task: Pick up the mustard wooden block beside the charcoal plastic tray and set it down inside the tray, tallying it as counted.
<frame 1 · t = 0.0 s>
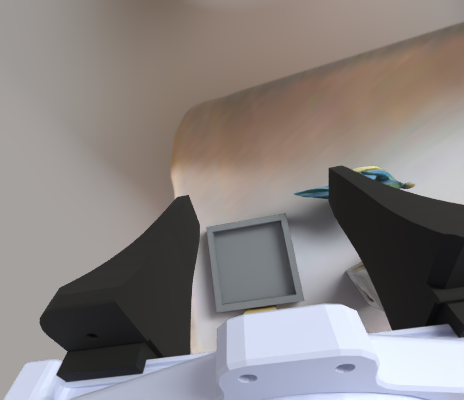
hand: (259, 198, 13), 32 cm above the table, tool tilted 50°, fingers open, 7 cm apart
mustard block: (263, 322, 41), on the table
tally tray: (253, 261, 43), on the table
blue bird figurine: (339, 201, 44), on the table
coffee box: (379, 273, 40), on the table
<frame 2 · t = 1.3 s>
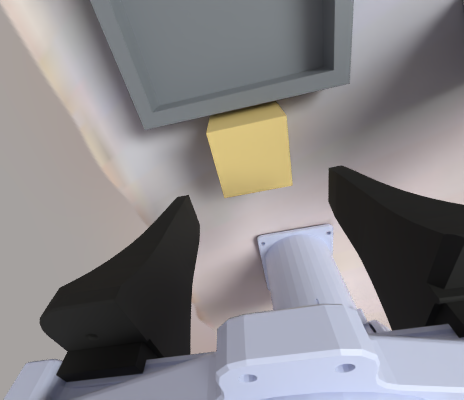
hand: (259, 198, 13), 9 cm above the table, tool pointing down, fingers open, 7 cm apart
mustard block: (247, 135, 20), on the table
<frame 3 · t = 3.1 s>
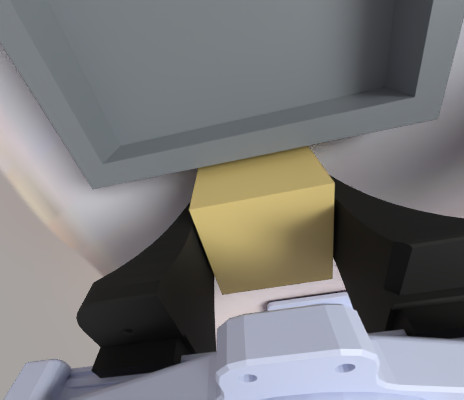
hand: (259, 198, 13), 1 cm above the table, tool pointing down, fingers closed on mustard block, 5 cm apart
mustard block: (256, 184, 14), on the table, touching gripper
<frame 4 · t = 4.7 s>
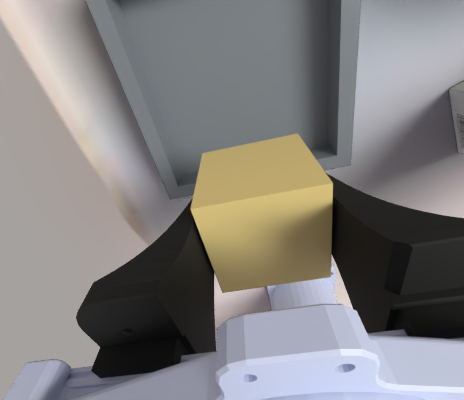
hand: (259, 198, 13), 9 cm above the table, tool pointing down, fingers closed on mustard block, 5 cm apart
mustard block: (256, 184, 14), point 7 cm above the table, touching gripper
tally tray: (237, 79, 17), on the table
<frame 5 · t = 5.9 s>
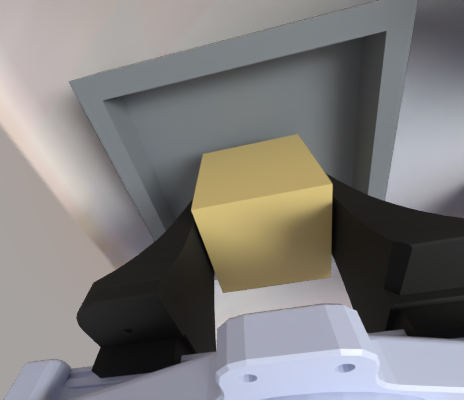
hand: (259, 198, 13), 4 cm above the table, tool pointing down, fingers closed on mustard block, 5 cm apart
mustard block: (256, 184, 14), point 2 cm above the table, touching gripper
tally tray: (253, 165, 16), on the table
when the fingers open (4 cm above the table, at t = 6.8 s): mustard block drops 1 cm, resting on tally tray.
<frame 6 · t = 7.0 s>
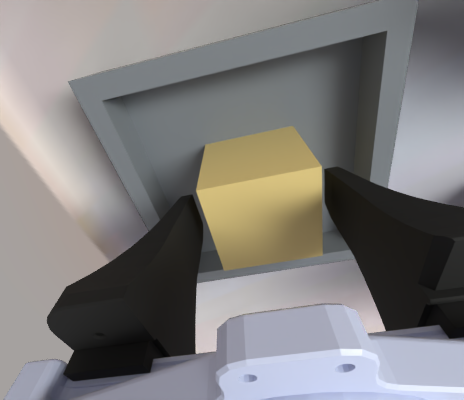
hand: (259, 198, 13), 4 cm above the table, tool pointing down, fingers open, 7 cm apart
mustard block: (255, 173, 15), point 1 cm above the table, touching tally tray
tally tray: (253, 166, 16), on the table
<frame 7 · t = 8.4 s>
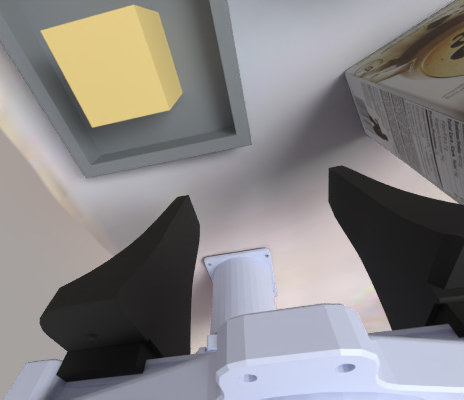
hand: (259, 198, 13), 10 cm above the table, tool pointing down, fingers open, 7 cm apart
mustard block: (138, 64, 17), point 1 cm above the table, touching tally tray
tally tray: (140, 61, 18), on the table
coffee box: (409, 72, 19), on the table
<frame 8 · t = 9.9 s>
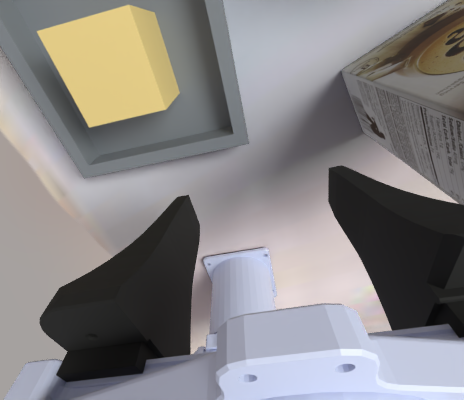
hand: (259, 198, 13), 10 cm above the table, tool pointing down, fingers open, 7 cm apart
mustard block: (135, 64, 18), point 1 cm above the table, touching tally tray
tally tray: (137, 61, 18), on the table
coffee box: (406, 70, 19), on the table
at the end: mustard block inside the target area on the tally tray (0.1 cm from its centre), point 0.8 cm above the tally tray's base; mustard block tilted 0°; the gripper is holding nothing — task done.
